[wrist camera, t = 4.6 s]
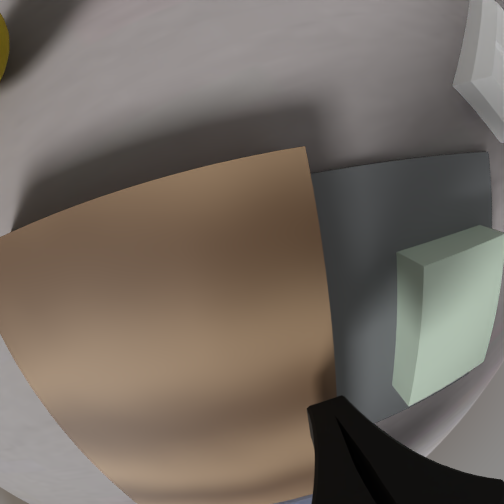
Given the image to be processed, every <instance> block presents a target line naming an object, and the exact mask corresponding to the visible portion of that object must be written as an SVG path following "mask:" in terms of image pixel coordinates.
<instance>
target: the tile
mask: <svg viewBox="0 0 504 504" xmlns="http://www.w3.org/2000/svg"><path fill="white" fill-rule="evenodd" d="M396 255H397V328H396V346H395V359H394V370H393V380H392V386H393V387H394V388H395V390H396V391H397V392H398V393H399V395H400V396H401V397H402V399H403V400H404V401H405V403H406V404H407V405H408V406H411V405H413V404H414V403H416V402H418V401H420V400H422V399H424V398H426V397H428V396H429V395H431V394H433V393H435V392H437V391H438V390H440V389H442V388H443V387H445V386H447V385H448V384H450V383H452V382H453V381H455V380H457V379H458V378H460V377H461V376H463V375H464V374H466V373H467V372H469V371H470V370H472V369H473V368H475V367H476V366H478V365H479V364H481V363H482V362H484V359H485V356H486V352H487V349H488V345H489V341H490V337H491V333H492V329H493V324H494V320H495V315H496V310H497V305H498V299H499V293H500V287H501V280H502V272H503V263H504V233H503V232H500V231H497V230H494V229H491V228H488V227H485V226H482V225H478V226H475V227H472V228H469V229H466V230H463V231H460V232H457V233H454V234H451V235H448V236H445V237H442V238H439V239H436V240H433V241H430V242H427V243H424V244H420V245H417V246H414V247H411V248H408V249H405V250H401V251H398V252H396Z"/></svg>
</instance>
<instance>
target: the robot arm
mask: <svg viewBox="0 0 504 504" xmlns="http://www.w3.org/2000/svg"><path fill="white" fill-rule="evenodd" d="M307 415H308V422H309V429H310V435H311V439H312V442H313V446H314V452H315V469H314V487H313V494H311V495H307V496H303V497H300V498H296V499H292V500H288V501H283V502H279V503H274V504H504V482H503V480H501V479H494V478H487V477H482V476H477V475H473V474H469V473H465V472H461V471H458V470H455V469H453V468H450V467H447V466H444V465H441V464H439V463H437V462H434V461H432V460H430V459H428V458H426V457H424V456H422V455H420V454H418V453H416V452H414V451H413V450H411V449H409V448H408V447H406V446H404V445H403V444H401V443H400V442H398V441H397V440H395V439H394V438H392V437H391V436H389V435H388V434H387V433H385V432H384V431H383V430H381V429H380V428H379V427H377V426H376V425H375V424H374V423H372V422H371V421H370V420H369V419H368V418H367V417H365V416H364V415H363V414H362V413H361V412H360V411H359V410H358V409H357V408H356V407H355V406H354V405H353V404H352V403H351V402H350V401H349V400H348V399H347V398H346V397H345V396H343V395H341V396H338V397H335V398H332V399H329V400H326V401H323V402H320V403H317V404H313V405H310V406H309V407H308V408H307Z"/></svg>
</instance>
